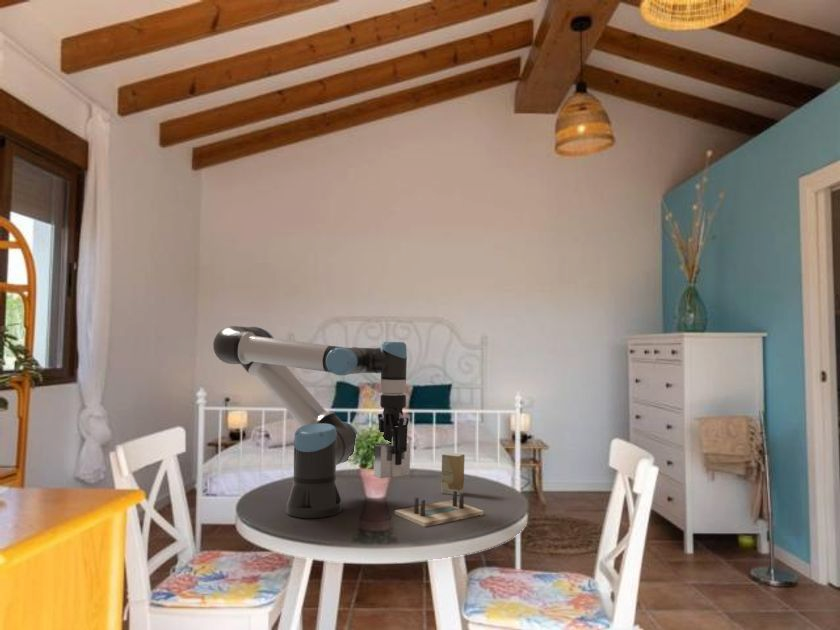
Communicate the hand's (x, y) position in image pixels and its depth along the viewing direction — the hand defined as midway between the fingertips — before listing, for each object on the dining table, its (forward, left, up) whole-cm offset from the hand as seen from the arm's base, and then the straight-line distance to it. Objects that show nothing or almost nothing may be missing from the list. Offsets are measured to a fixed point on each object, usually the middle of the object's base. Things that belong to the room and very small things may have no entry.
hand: (391, 474), depth 174 cm
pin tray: (+5, -16, -9) cm, 19 cm away
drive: (0, 0, 0) cm, 0 cm away
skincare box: (+23, +1, -9) cm, 25 cm away
